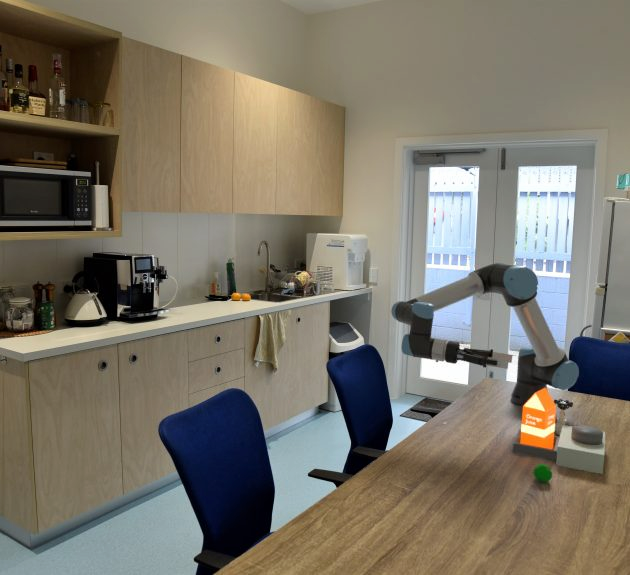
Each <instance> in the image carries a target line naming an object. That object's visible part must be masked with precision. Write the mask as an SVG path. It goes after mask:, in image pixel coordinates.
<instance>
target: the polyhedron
mask: <svg viewBox="0 0 630 575" xmlns="http://www.w3.org/2000/svg"><path fill="white" fill-rule="evenodd" d="M532 474H533V476H534V478H535V480H537V481H539V482H541V483H548V482H549V481H550V480H551V479H552V476H553V472H552V470H551V468H550V467H549V466H548V465H546V464H545V463H541V464H537V465H536V466H535V467H534V469H533V473H532Z"/></svg>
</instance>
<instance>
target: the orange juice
mask: <svg viewBox="0 0 630 575" xmlns="http://www.w3.org/2000/svg"><path fill="white" fill-rule="evenodd" d="M547 389H548V388H547ZM547 389H546V388H544V389H542V390H540V391H538V392H536V393H535V394H534V395H533V396H532V397H531V398H530V399H529V400H528V401H527V402H526V403H525V405H524V406H522V414H521V415H522V416H521V425H520V426H521V427H520V430H521V441H520V443H521V444H526V445H532V446H537V447H543V448H548V449H554V445H553V441H554V436H555V422H556V416H557V415H556V412H557V404H556V405H555V403H554V402H553V401H554V399H553V398H552V396H551V395H550V393H549V390H548V391H547Z"/></svg>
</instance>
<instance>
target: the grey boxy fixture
mask: <svg viewBox="0 0 630 575" xmlns="http://www.w3.org/2000/svg"><path fill="white" fill-rule="evenodd" d="M520 441H521V429H518V432H517V434H516V437H515V438H514V441H513V443H512V453H515V454H519V455H525V456H528V457H529V456H531V457H534V458H541V459H546V460H551V461H554V462H555V461H556V462H555V465H556V466H558V467H564V468H569V469H573V470H578V471H583V470H584V472H588V473H589V472H591V473H594V472H595V473H594V474H599V473H600V474H599V475H604V464H605V463H604V462H605V453H606V452H605V451H606V450H605V449H606V448H605V447H606V431H603V430H602V429H599V428H596V427H594V426H588V425H574V426H573V425H567V424H565V425H562V430H561V434H560V435H558V436H557V435H554V441H553V449H548V448H543V447H537V446H532V445H526V444H521V443H520Z"/></svg>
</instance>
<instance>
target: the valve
mask: <svg viewBox="0 0 630 575" xmlns="http://www.w3.org/2000/svg"><path fill="white" fill-rule="evenodd" d="M553 402H554V403H555V405H556V407H557V408H558V409H559V410H560V411H559V412H558V413H559V414H558V415H559V416H558V417H557V419H556V421H555V430H554V433H556V434H557V435H558V436H560V434H561V430H562V425H566V423H567V419H566V418H565V417H566V412H565V411H566V410H569V409H570V408H573V406H574V402H572V401H570V400H567V399H566V400H564V399H561V398H560V399H553Z"/></svg>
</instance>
